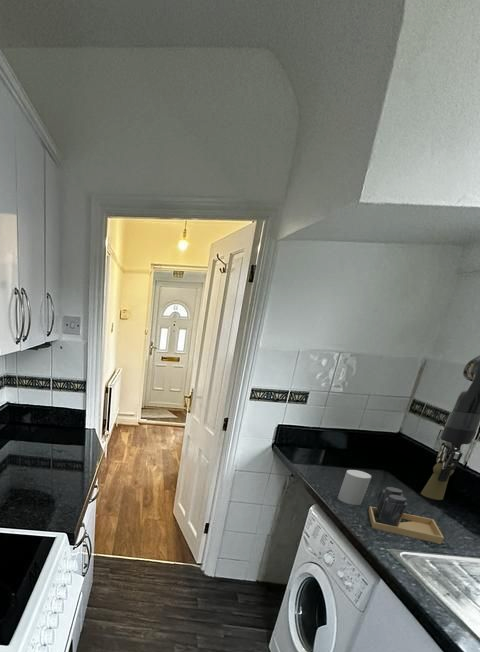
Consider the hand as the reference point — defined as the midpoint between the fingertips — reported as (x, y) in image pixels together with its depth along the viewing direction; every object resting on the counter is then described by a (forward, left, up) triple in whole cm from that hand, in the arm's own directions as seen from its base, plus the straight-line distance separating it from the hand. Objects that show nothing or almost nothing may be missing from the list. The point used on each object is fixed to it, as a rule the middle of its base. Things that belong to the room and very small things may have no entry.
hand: (439, 477), depth 133 cm
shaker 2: (+10, +4, -19) cm, 21 cm away
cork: (0, 0, -7) cm, 7 cm away
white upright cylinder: (+20, -14, -19) cm, 31 cm away
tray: (+5, 0, -19) cm, 20 cm away
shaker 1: (+10, -4, -19) cm, 21 cm away
